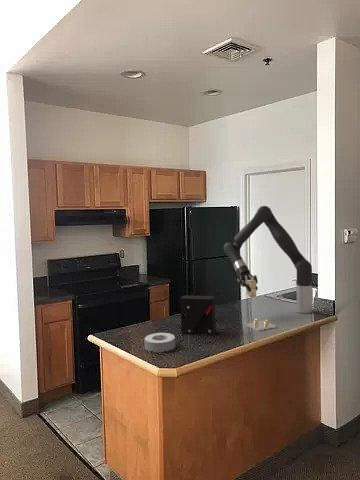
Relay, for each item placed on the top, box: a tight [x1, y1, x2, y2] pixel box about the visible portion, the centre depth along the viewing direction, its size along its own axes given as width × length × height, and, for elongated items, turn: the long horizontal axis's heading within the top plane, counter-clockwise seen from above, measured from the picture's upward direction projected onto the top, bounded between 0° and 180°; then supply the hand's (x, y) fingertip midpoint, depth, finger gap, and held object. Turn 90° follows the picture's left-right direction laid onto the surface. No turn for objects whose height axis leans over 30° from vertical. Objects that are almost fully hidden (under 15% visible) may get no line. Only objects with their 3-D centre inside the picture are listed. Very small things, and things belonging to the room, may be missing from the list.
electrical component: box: [179, 294, 217, 336], centre depth 222 cm, size 18×10×20 cm, turn 71°
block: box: [246, 280, 257, 298], centre depth 244 cm, size 4×4×10 cm
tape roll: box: [144, 332, 176, 353], centre depth 201 cm, size 15×15×5 cm
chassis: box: [245, 318, 277, 331], centre depth 228 cm, size 12×12×4 cm
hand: (253, 290), depth 243 cm, fingers closed on block, 4 cm apart
